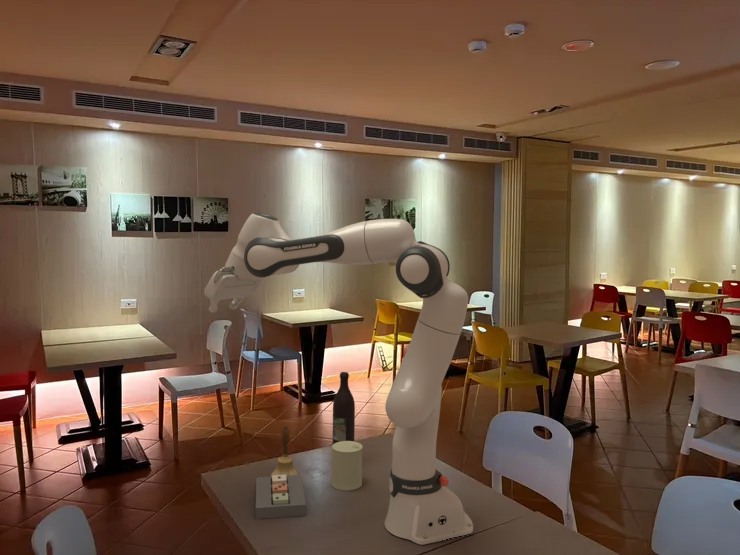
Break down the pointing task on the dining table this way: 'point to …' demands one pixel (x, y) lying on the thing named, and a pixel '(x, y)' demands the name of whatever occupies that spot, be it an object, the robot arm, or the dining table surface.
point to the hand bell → (284, 457)
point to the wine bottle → (343, 412)
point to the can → (347, 465)
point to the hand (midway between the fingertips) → (222, 309)
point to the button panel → (291, 509)
